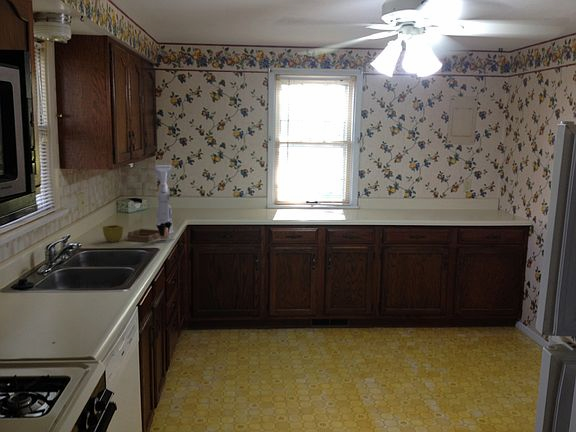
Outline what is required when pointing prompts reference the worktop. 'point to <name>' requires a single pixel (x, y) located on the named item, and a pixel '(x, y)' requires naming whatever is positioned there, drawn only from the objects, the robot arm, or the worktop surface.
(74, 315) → the worktop surface
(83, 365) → the worktop surface
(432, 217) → the worktop surface
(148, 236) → the wooden square frame
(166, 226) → the robot arm
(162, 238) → the seedling pot
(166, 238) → the rubber mat
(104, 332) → the worktop surface
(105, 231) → the flower pot
